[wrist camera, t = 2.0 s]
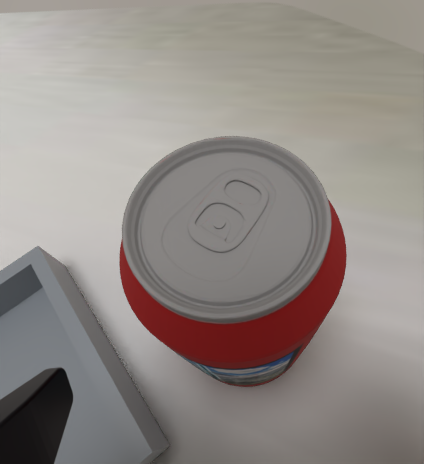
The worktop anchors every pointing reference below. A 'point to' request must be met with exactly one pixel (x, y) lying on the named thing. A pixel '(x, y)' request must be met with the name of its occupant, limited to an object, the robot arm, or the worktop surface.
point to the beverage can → (232, 256)
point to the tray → (72, 364)
